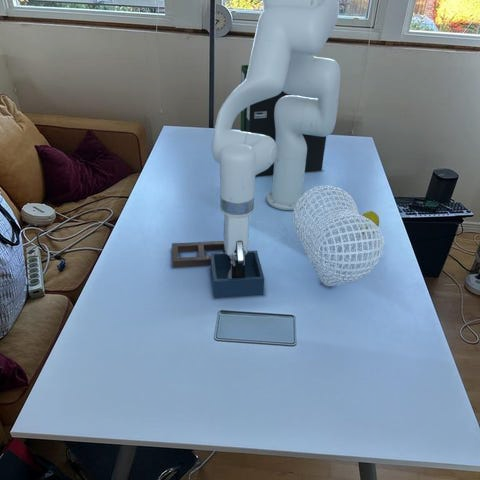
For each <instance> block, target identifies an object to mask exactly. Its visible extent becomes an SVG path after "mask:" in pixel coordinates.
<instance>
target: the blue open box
mask: <svg viewBox="0 0 480 480" xmlns="http://www.w3.org/2000/svg"><path fill="white" fill-rule="evenodd" d="M244 255H245V254H244ZM209 256H210V261H211V265H210V274H211V282H212V290H213V298H214V299H222V298H239V297H255V296H257V297H258V296H264V289H265V276H264V272H263V268H262V264H261V259H260V256H259V253H258V250H248V253H247V254H246V255H245V278H231V279H227V277H228V273H229V271H230V270H231V261H229V260H228V255H227V253H226V252H224V251H223V252H221V251H219V252H210V253H209Z"/></svg>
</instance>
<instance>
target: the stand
mask: <svg viewBox="0 0 480 480" xmlns="http://www.w3.org/2000/svg"><path fill="white" fill-rule="evenodd" d="M211 251H213V252H214V251H223V252H226V249H225V243H224V240H212V241H210V240H209V241H194V242H193V241H191V242H174V243H171V263H172V268H173V269H174V268H191V267H192V268H193V267H206V266H207V267H208V266H211V261H210V255H206V254H205V253H206V252H211ZM192 252H197V254H198V256H183V257H182V256H181V257H179V256H180V255H179V253H192Z"/></svg>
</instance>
